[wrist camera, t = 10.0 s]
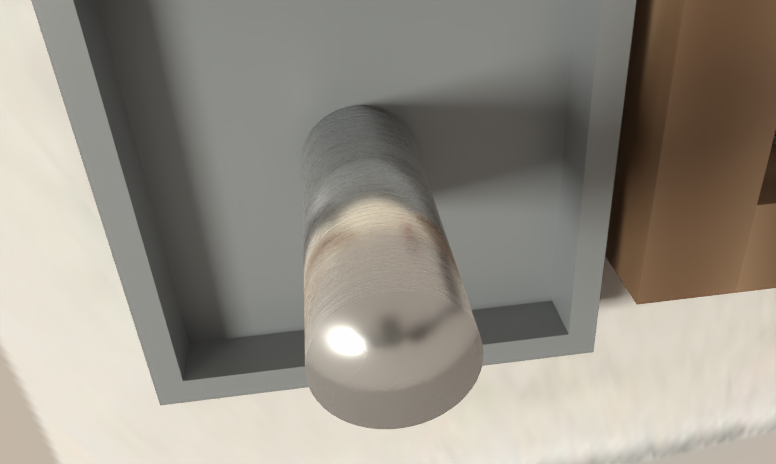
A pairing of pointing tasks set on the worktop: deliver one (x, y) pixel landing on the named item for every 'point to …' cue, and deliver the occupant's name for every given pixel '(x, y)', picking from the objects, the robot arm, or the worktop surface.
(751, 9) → the block
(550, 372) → the worktop surface
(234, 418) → the worktop surface
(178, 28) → the tray
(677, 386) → the worktop surface
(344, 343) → the pin
